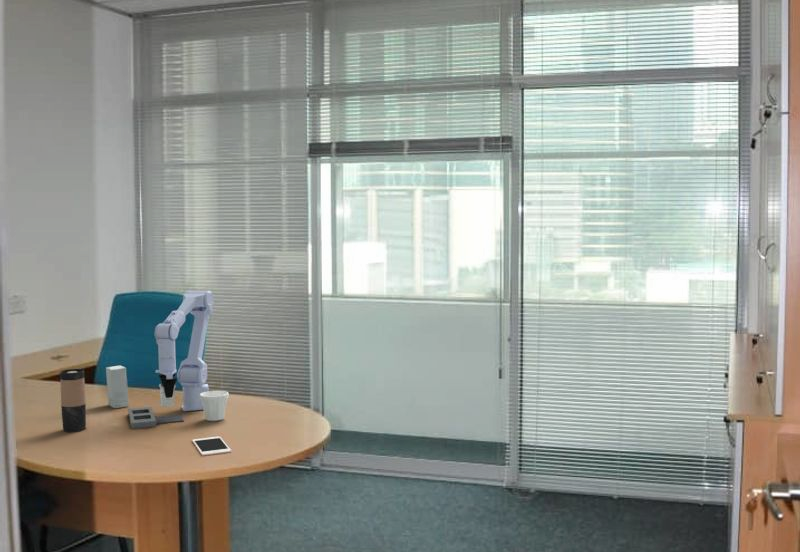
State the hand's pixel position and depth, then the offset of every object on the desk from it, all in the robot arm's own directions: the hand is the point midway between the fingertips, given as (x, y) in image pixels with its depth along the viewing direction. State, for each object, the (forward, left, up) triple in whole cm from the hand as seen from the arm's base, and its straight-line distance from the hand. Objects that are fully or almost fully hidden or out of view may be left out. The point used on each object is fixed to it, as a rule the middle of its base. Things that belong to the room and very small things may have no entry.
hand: (168, 395), depth 290 cm
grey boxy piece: (0, 0, -3) cm, 3 cm away
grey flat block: (+9, -3, -9) cm, 13 cm away
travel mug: (+31, +1, -9) cm, 32 cm away
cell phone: (-9, +40, -9) cm, 42 cm away
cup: (-15, +6, -9) cm, 18 cm away
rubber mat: (0, 0, -9) cm, 9 cm away
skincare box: (+16, -30, -9) cm, 35 cm away
